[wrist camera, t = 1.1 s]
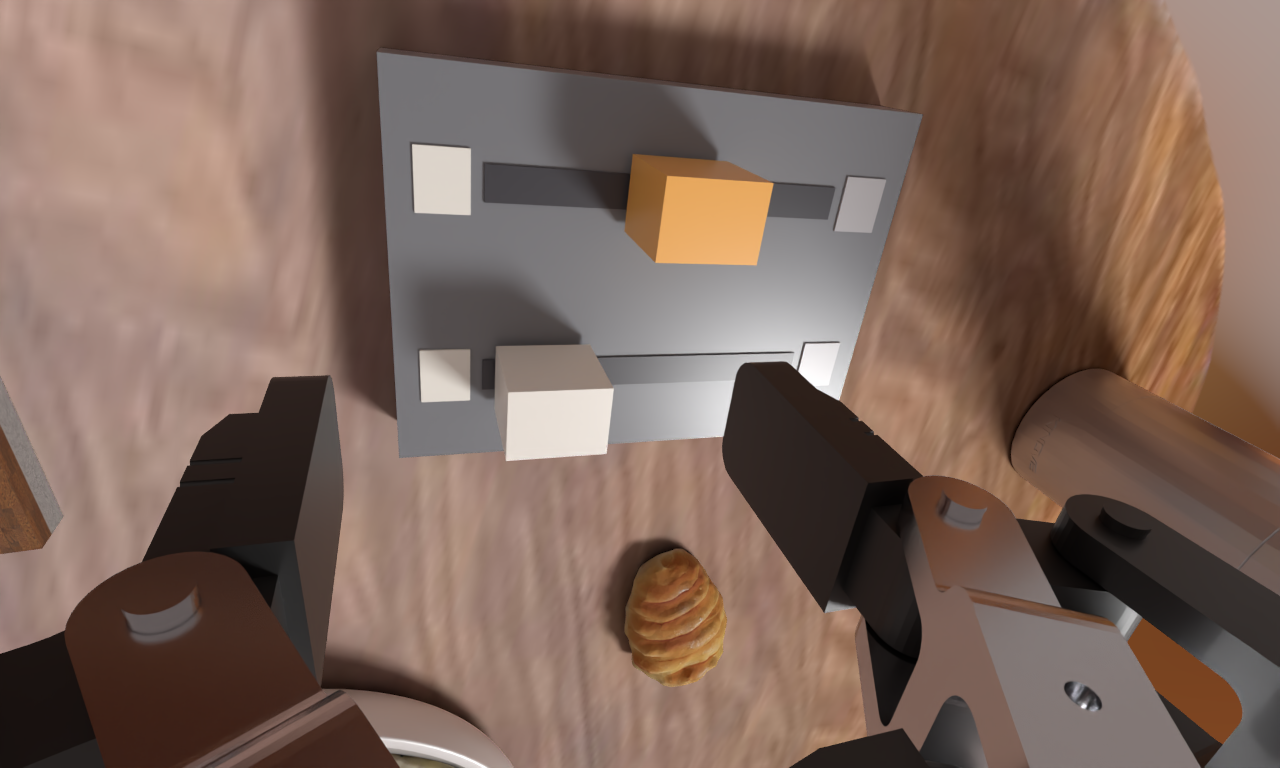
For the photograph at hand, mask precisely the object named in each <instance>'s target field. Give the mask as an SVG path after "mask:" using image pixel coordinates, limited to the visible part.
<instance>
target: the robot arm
mask: <svg viewBox="0 0 1280 768" xmlns="http://www.w3.org/2000/svg"><path fill="white" fill-rule="evenodd" d="M722 453H723V460H724V465H725V468H726V470H727V473H728V474H729V476H730V478H731V479H732V480H733V482H734V483H735V485H736V486H737V488H738V489H739V491H740V492H741V493H742V495H743V496H744V498H745V499H746V501H747V502H748V504H749V505H750V506H751V508H752V509H753V511H754V512H755V514H756V515H757V517H758V518H759V519H760V521H761V522H762V524H763V525H764V527H765V528H766V529H767V531H768V532H769V534H770V535H771V537H772V538H773V540H774V541H775V542H776V544H777V545H778V547H779V548H780V550H781V551H782V553H783V554H784V555H785V557H786V558H787V560H788V561H789V563H790V564H791V566H792V567H793V568H794V570H795V571H796V573H797V574H798V576H799V577H800V578H801V580H802V581H803V583H804V584H805V586H806V587H807V589H808V590H809V591H810V593H811V594H812V596H813V597H814V599H815V600H816V602H817V603H818V604H819V606H820V607H821V609H822V610H823V612H824V613H827V612H833V611H839V610H845V609H850V608H857V609H858V610H859V612H860V613H861V617H860V620H859V622H858V625H857V628H856V631H855V642H856V650H857V658H858V666H859V674H860V681H861V689H862V697H863V705H864V713H865V721H866V728H867V736H868V737H864V738H860V739H856V740H852V741H848V742H844V743H839V744H835V745H831V746H827V747H823V748H819V749H818V750H816V751H815V752H813V753H811V754H810V755H808V756H807V757H805V758H804V759H802V760H800V761H799V762H797V763H796V764H794V765H793V766H791V767H789V768H1280V459H1279V458H1277V457H1275V456H1273V455H1271V454H1269V453H1267V452H1265V451H1263V450H1261V449H1259V448H1257V447H1255V446H1254V445H1252V444H1249V443H1248V442H1246V441H1244V440H1242V439H1240V438H1238V437H1236V436H1234V435H1232V434H1230V433H1228V432H1226V431H1224V430H1223V429H1221V428H1218V427H1217V426H1215V425H1213V424H1211V423H1209V422H1207V421H1205V420H1203V419H1201V418H1199V417H1197V416H1195V415H1193V414H1192V413H1190V412H1188V411H1186V410H1184V409H1182V408H1180V407H1178V406H1176V405H1174V404H1172V403H1170V402H1168V401H1167V400H1165V399H1163V398H1161V397H1159V396H1157V395H1155V394H1153V393H1151V392H1149V391H1148V390H1146V389H1144V388H1142V387H1140V386H1138V385H1136V384H1134V383H1132V382H1130V381H1128V380H1126V379H1124V378H1122V377H1120V376H1118V375H1116V374H1114V373H1113V372H1111V371H1108V370H1104V369H1088V370H1084V371H1080V372H1077V373H1075V374H1073V375H1071V376H1068V377H1066V378H1065V379H1063V380H1062V381H1060V382H1058V383H1057V384H1055V385H1054V386H1053V387H1051V388H1050V389H1049V390H1048V391H1047V392H1046V393H1044V394H1043V395H1042V396H1041V397H1040V398H1039V399H1038V400H1037V401H1036V403H1035V404H1034V405H1033V406H1032V407H1031V408H1030V410H1029V411H1028V412H1027V414H1026V415H1025V417H1024V418H1023V420H1022V422H1021V423H1020V425H1019V427H1018V429H1017V431H1016V434H1015V437H1014V440H1013V442H1012V449H1011V460H1012V464H1013V467H1014V469H1015V471H1016V472H1017V473H1018V474H1019V475H1020V476H1021V477H1023V478H1024V479H1025V480H1026V481H1028V482H1029V483H1030V484H1032V485H1033V486H1034V487H1036V488H1037V489H1038V490H1040V491H1041V492H1042V493H1044V494H1045V495H1046V496H1048V497H1049V498H1050V499H1051V500H1053V501H1054V502H1055V503H1057V504H1058V505H1059V506H1061V507H1062V508H1063V509H1062V511H1061V513H1060V515H1059V516H1058V518H1057V520H1056V522H1055V523H1048V522H1040V521H1032V520H1024V519H1016V518H1015V516H1014V514H1013V513H1012V511H1011V510H1010V509H1009V508H1008V507H1007V505H1005V504H1004V503H1003V502H1002V501H1001V500H1000V499H998V498H997V497H995V496H994V495H993V494H991V493H989V492H988V491H986V490H984V489H982V488H980V487H978V486H976V485H973V484H971V483H968V482H966V481H962V480H959V479H955V478H951V477H945V476H934V475H933V476H924V477H923V476H922V475H921V474H920V473H919V472H918V471H917V470H916V469H915V468H914V467H912V466H911V465H910V464H909V463H908V462H907V461H906V460H905V459H904V458H902V457H901V456H900V455H899V454H898V453H897V452H896V451H895V450H894V449H892V448H891V447H890V446H889V445H888V444H887V443H886V442H885V441H884V440H882V439H881V438H880V437H879V436H878V435H874V431H873V430H871V429H870V428H869V427H868V426H867V425H866V424H865V423H864V422H863V421H859V420H858V417H857V416H856V415H855V414H854V413H853V412H851V411H850V410H849V409H848V408H847V407H846V406H845V405H844V404H843V403H842V402H840V401H839V400H837V399H835V398H833V397H831V396H829V395H828V394H826V393H824V392H822V391H820V390H818V389H816V388H815V387H814V386H813V385H812V384H811V383H810V382H809V381H808V380H807V379H806V378H805V377H803V376H802V375H801V374H800V373H799V372H798V371H797V370H796V369H795V368H794V367H793V366H792V365H790V364H789V363H788V362H785V361H777V362H747V363H744V364H742V365H741V366H740V368H739V369H738V371H737V374H736V378H735V382H734V387H733V392H732V397H731V402H730V407H729V412H728V417H727V422H726V427H725V431H724V436H723V443H722ZM343 492H344V491H343V468H342V458H341V449H340V440H339V431H338V422H337V413H336V404H335V395H334V387H333V382H332V378H331V376H330V375H329V376H298V377H273V378H272V379H271V380H270V383H269V386H268V388H267V391H266V394H265V397H264V400H263V402H262V405H261V408H260V411H259V413H245V414H229V415H228V416H227V417H225V418H224V419H223V420H221V421H220V422H219V423H218V424H216V425H215V426H214V427H212V428H211V429H210V430H209V431H207V432H206V433H205V434H204V435H202V436H201V438H200V440H199V443H198V445H197V447H196V449H195V451H194V453H193V455H192V457H191V459H190V466H187V468H186V470H185V472H184V474H183V476H182V478H181V481H180V487H177V489H176V491H175V493H174V495H173V497H172V500H171V502H170V504H169V506H168V508H167V510H166V512H165V514H164V516H163V519H162V521H161V523H160V525H159V527H158V529H157V531H156V533H155V535H154V537H153V540H152V542H151V544H150V546H149V548H148V550H147V552H146V554H145V556H144V559H143V561H142V562H141V563H139V564H136V565H134V566H131V567H129V568H127V569H125V570H123V571H121V572H119V573H117V574H115V575H113V576H112V577H110V578H108V579H107V580H105V581H104V582H102V583H101V584H99V585H98V586H97V587H96V588H94V589H93V590H92V591H91V592H89V593H88V594H87V595H86V596H85V597H84V598H83V599H82V600H81V601H80V602H79V603H78V605H77V606H76V607H75V609H74V610H73V612H72V613H71V615H70V617H69V619H68V621H67V623H66V628H65V631H62V632H60V633H58V634H56V635H53V636H51V637H49V638H46V639H43V640H41V641H38V642H35V643H32V644H30V645H27V646H23V647H20V648H17V649H14V650H11V651H8V652H5V653H2V654H0V768H400V767H399V765H398V764H397V762H396V761H395V759H394V758H393V756H392V755H391V753H390V752H389V750H388V749H387V747H386V746H385V744H384V743H383V741H382V740H381V738H380V737H379V736H378V734H377V733H376V731H375V730H374V728H373V727H372V725H371V724H370V722H369V721H368V719H367V718H366V716H365V715H364V713H363V712H362V710H361V709H360V708H359V706H358V705H357V704H356V702H355V701H354V700H353V699H352V698H351V697H350V696H349V695H348V694H347V693H346V692H344V691H342V690H338V691H336V692H334V693H332V694H331V695H329V696H327V695H326V694H325V692H324V691H323V690H322V688H321V682H322V674H323V665H324V657H325V649H326V641H327V633H328V625H329V617H330V609H331V601H332V593H333V584H334V576H335V568H336V560H337V552H338V544H339V536H340V528H341V520H342V511H343ZM1142 618H1144V619H1145V620H1147V621H1148V622H1149V623H1151V624H1152V625H1153V626H1155V627H1156V628H1157V629H1159V630H1160V631H1161V632H1163V633H1164V634H1165V635H1167V636H1168V637H1169V638H1171V639H1172V640H1173V641H1175V642H1176V643H1177V644H1179V645H1180V646H1181V647H1183V648H1184V649H1185V650H1187V651H1188V652H1189V653H1191V654H1192V655H1193V656H1194V657H1196V658H1197V659H1198V660H1200V661H1201V662H1203V663H1204V664H1205V665H1207V666H1208V667H1209V668H1211V669H1212V670H1213V671H1214V672H1216V673H1217V674H1218V675H1220V676H1221V677H1222V678H1223V679H1225V680H1226V681H1227V682H1228V683H1229V684H1230V686H1231V687H1232V688H1233V689H1234V691H1235V692H1236V694H1237V695H1238V697H1239V699H1240V702H1241V705H1242V710H1243V716H1242V721H1241V722H1240V724H1239V726H1238V727H1237V728H1236V729H1235V730H1234V732H1233V733H1232V734H1231V735H1230V737H1229V738H1228V739H1227V740H1226V741H1225V743H1224V744H1221V743H1220V742H1218V741H1217V740H1215V739H1214V738H1213V737H1211V736H1210V735H1209V734H1208V733H1206V732H1205V731H1204V730H1203V729H1202V728H1200V727H1199V726H1198V725H1197V724H1196V723H1194V722H1193V721H1192V720H1191V719H1189V718H1188V717H1187V716H1186V715H1185V714H1184V713H1182V712H1181V711H1180V710H1179V709H1177V708H1176V707H1175V706H1174V705H1173V704H1171V703H1170V702H1169V701H1168V700H1167V699H1165V698H1164V697H1163V696H1162V695H1160V694H1159V693H1158V692H1157V691H1156V690H1155V689H1154V687H1153V686H1152V684H1151V682H1150V681H1149V679H1148V677H1147V676H1146V674H1145V672H1144V671H1143V669H1142V667H1141V666H1140V664H1139V662H1138V660H1137V659H1136V657H1135V656H1134V654H1133V652H1132V650H1131V649H1130V647H1129V645H1128V644H1127V641H1128V639H1129V638H1130V636H1131V635H1132V633H1133V632H1134V630H1135V629H1136V627H1137V625H1138V624H1139V622H1140V621H1141V619H1142Z"/></svg>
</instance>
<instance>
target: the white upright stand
mask: <svg viewBox="0 0 1280 768" xmlns="http://www.w3.org/2000/svg"><path fill="white" fill-rule="evenodd" d="M62 518H63V515H62V512H61V510H60V508H59V506H58V503H57V501H56V499H55V497H54V495H53V492H52V490H51V488H50V486H49V483H48V481H47V479H46V477H45V475H44V472H43V470H42V468H41V466H40V463H39V461H38V459H37V457H36V455H35V452H34V450H33V448H32V446H31V443H30V441H29V439H28V437H27V435H26V432H25V430H24V428H23V426H22V423H21V421H20V419H19V417H18V415H17V412H16V410H15V408H14V406H13V403H12V401H11V399H10V397H9V395H8V392H7V390H6V388H5V386H4V383H3V381H2V379H1V377H0V554H4V553H12V552H19V551H27V550H34V549H42V548H43V546H44V545H45V543H46V542H47V540H48V539H49V537H50V536H51V534H52V533H53V531H54V530H55V529H56V527H57V526H58V524H59V523H60V521H61V520H62Z"/></svg>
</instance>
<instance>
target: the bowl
mask: <svg viewBox="0 0 1280 768" xmlns="http://www.w3.org/2000/svg"><path fill="white" fill-rule="evenodd" d="M322 690H323V691H324V692H325V694H326V695H327V696H329V695H331V694H332V693H334V692H336V691H338V690H342V691H344V692H346V693H347V694H348V695H349V696H350V697H351V698H352V699H353V700H354V701H355V702H356V704H357V705H358V706H359V708H360V709H361V710H362V712H363V713H364V715H365V716H366V718H367V719H368V721H369V722H370V724H371V725H372V727H373V728H374V730H375V731H376V733H377V734H378V736H379V737H380V738H381V740H382V741H383V743H384V744H385V746H386V747H387V749H388V750H389V752H390V753H391V755H392V756H393V758H394V759H395V761H396V762H397V764H398V765H399V767H400V768H514V767H513V765H512V764H511V762H510V761H509V759H508V758H507V757H506V755H505V754H504V753H503V752H502V750H501V749H500V748H499V747H498V746H497V745H496V744H495V743H494V742H493V741H492V740H491V739H490V738H489V737H488V736H486V735H485V734H484V733H483V732H482V731H480V730H479V729H477V728H476V727H474V726H473V725H472V724H470V723H469V722H467V721H465V720H463V719H462V718H460V717H458V716H456V715H454V714H452V713H450V712H448V711H446V710H443V709H441V708H438V707H436V706H433V705H430V704H427V703H424V702H421V701H418V700H414V699H410V698H406V697H402V696H397V695H392V694H386V693H380V692H372V691H364V690H350V689H322Z"/></svg>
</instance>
